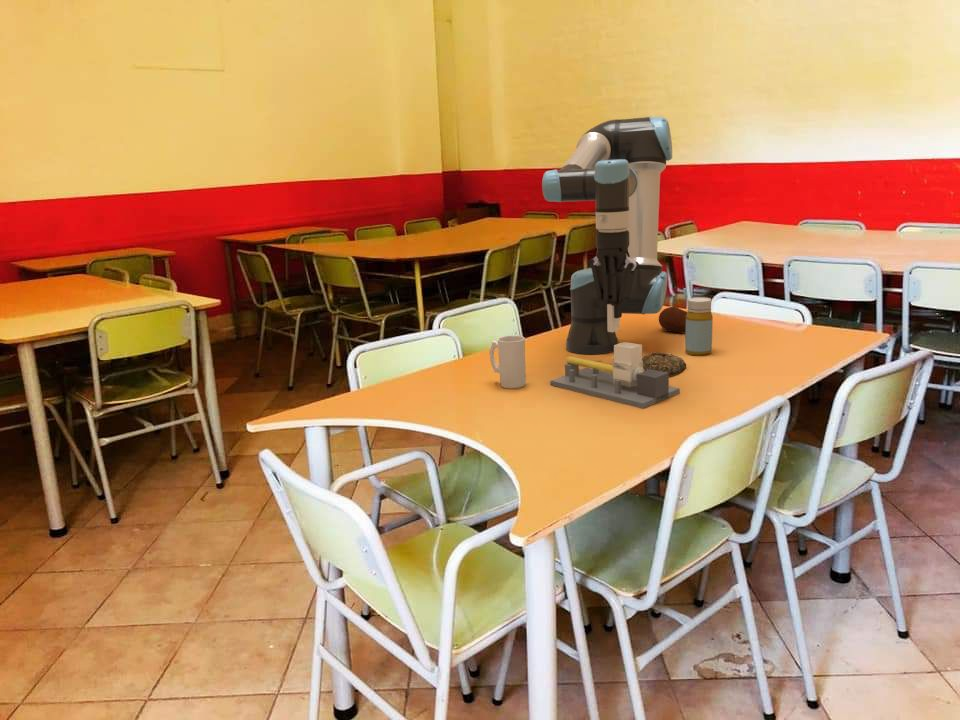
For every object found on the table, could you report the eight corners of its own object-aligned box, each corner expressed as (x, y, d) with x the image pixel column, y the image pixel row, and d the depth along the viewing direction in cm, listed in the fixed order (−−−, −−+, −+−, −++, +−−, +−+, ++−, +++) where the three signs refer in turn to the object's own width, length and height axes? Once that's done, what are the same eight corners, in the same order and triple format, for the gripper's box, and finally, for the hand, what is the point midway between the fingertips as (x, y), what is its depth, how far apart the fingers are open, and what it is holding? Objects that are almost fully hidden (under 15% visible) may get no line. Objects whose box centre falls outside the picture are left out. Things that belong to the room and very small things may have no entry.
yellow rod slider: (550, 385, 185) (549, 359, 184) (587, 372, 194) (586, 347, 192) (643, 408, 165) (643, 379, 163) (679, 393, 174) (680, 365, 172)
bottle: (683, 355, 204) (684, 301, 201) (686, 349, 211) (687, 296, 207) (710, 356, 202) (711, 302, 198) (712, 350, 208) (714, 297, 204)
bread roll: (692, 368, 193) (693, 350, 192) (668, 380, 184) (668, 361, 183) (649, 361, 202) (649, 344, 200) (624, 372, 193) (623, 354, 192)
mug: (531, 383, 188) (530, 337, 185) (517, 390, 183) (514, 343, 179) (499, 378, 194) (496, 333, 190) (483, 385, 188) (481, 339, 185)
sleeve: (613, 383, 176) (612, 345, 173) (625, 378, 179) (625, 341, 177) (630, 387, 172) (630, 348, 170) (642, 382, 175) (643, 344, 173)
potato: (687, 336, 224) (687, 310, 222) (652, 332, 232) (652, 307, 230) (697, 331, 230) (698, 306, 228) (663, 327, 237) (663, 303, 235)
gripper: (579, 230, 172) (582, 330, 178) (625, 233, 162) (626, 338, 169) (600, 227, 176) (602, 324, 183) (646, 229, 167) (646, 331, 173)
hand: (613, 330), depth 176 cm, fingers closed
